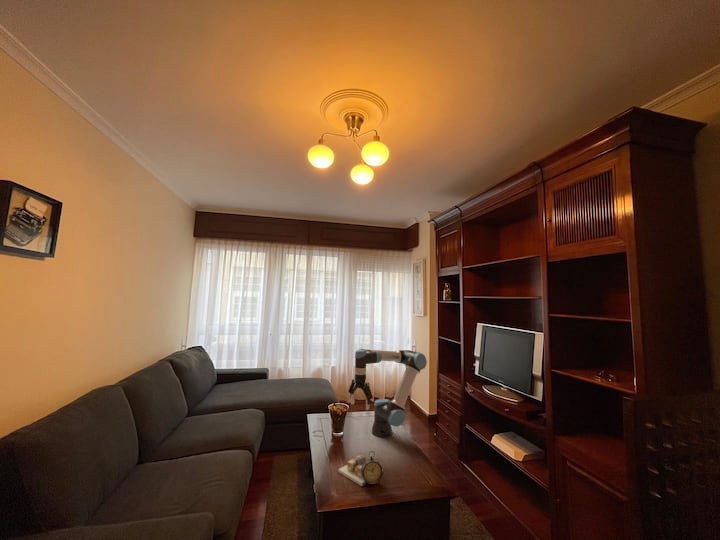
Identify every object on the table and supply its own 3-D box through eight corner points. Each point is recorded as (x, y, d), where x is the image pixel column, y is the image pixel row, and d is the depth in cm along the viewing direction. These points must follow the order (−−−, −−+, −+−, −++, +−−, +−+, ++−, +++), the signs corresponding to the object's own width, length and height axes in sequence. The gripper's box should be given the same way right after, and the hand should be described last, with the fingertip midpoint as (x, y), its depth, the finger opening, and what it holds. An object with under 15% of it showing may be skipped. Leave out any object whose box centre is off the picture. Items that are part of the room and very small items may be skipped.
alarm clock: (362, 488, 148) (363, 454, 150) (360, 481, 154) (360, 449, 155) (382, 485, 151) (383, 452, 153) (379, 479, 156) (380, 447, 158)
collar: (361, 477, 155) (361, 469, 155) (347, 469, 162) (347, 461, 163) (374, 469, 163) (374, 461, 163) (360, 461, 170) (360, 454, 171)
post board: (360, 459, 175) (360, 446, 176) (383, 472, 163) (383, 457, 164) (338, 472, 162) (338, 458, 163) (361, 486, 150) (361, 471, 151)
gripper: (343, 371, 199) (342, 403, 197) (370, 378, 182) (370, 413, 180) (351, 369, 204) (350, 400, 202) (378, 376, 187) (378, 410, 185)
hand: (359, 406), depth 191 cm, fingers open, 13 cm apart
